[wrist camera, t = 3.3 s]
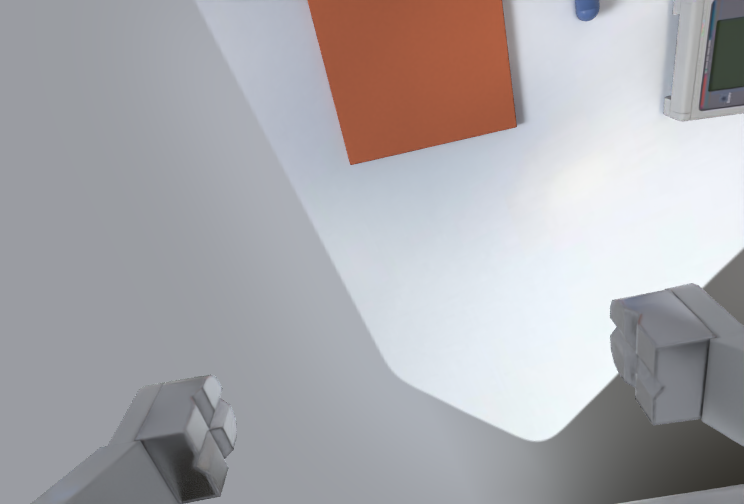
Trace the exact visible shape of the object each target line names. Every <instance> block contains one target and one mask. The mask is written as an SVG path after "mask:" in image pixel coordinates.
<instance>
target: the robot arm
mask: <svg viewBox="0 0 744 504" xmlns="http://www.w3.org/2000/svg"><path fill="white" fill-rule="evenodd" d="M610 318H611V319H612V321H613V322H614V324H615V325H616V326H617V327H616V329H615V330H614V331H613V333H612V334H611V335H610V341H611V352H612V356H613V360H614V364H615V366H616V368H617V370H618V372H619V374H620V376H621V377H622V379H623V381H624V382H625V383H627V384H629V385H631V386H633V387H635V388H636V390H635V399H636V401H637V402H638V404H639V405H640V407H641V408H642V410H643V411H644V413H645V414H646V416H647V417H648V419H649V420H650V422H651V423H652V425H658V424H666V423H673V422H680V421H687V420H695V419H702V421H703V422H704V423H706V424H708V425H709V426H711V427H712V428H714V429H716V430H718V431H719V432H721V433H722V434H724V435H726V436H727V437H729V438H730V439H732V440H734V441H735V442H737V443H739V444H740V445H742V446H744V326H743V325H742V324H741V323H740V322H739V321H738V320H737V319H735V318H734V317H733V316H732V315H731V314H730V313H729V312H728V311H727V310H725V309H724V308H723V307H722V306H721V305H720V304H719V303H718V302H716V301H715V300H714V299H713V298H712V297H711V296H710V295H709V294H707V293H706V292H705V291H704V290H703V289H702V288H701V287H700V286H698V285H696V284H693V283H691V284H686V285H682V286H677V287H672V288H667V289H665V290H662V291H657V292H652V293H646V294H641V295H636V296H631V297H625V298H620V299H615V300H612V302H611V306H610ZM221 392H222V387H221V385H220V383H219V381H218V379H217V377H215V376H213V375H206V376H200V377H194V378H187V379H181V380H175V381H169V382H166V383H158V384H153V385H147V386H144V387H142V388H141V389H139V391H138V393H137V394H136V396H135V398H134V399H133V401H132V403H131V405H130V407H129V409H128V410H127V412H126V414H125V416H124V417H123V419H122V421H121V423H120V425H119V426H118V428H117V430H116V432H115V434H114V435H113V437H112V439H111V441H110V442H109V444H108V446H105V447H100V448H99V449H98V450H97V451H95V452H94V453H93V454H92V455H90V456H89V457H88V458H87V459H85V460H84V461H83V462H82V463H80V464H79V465H78V466H77V467H76V468H74V469H73V470H72V471H71V472H69V473H68V474H67V475H66V476H65V477H63V478H62V479H61V480H59V481H58V482H57V483H56V484H55V485H54V486H52V487H51V488H50V489H49V490H47V491H46V492H45V493H44V494H42V495H41V496H40V497H39V498H37V499H36V500H35V501H34V502H32V503H31V504H183V503H189V502H194V501H199V500H204V499H210V498H215V497H220V496H221V492H222V489H223V485H224V482H225V478H226V475H227V471H228V466H227V464H226V462H225V460H224V459H225V458H226V457H227V456H228V455H229V454H230V453H231V452H232V451H233V450H234V446H235V442H236V420H235V416H234V412H233V410H232V408H231V406H230V404H228V403H227V402H225V401H224V400H222V399H220V395H221ZM619 504H744V484H743V485H736V486H730V487H723V488H716V489H710V490H704V491H698V492H690V493H684V494H677V495H671V496H664V497H658V498H651V499H645V500H638V501H632V502H625V503H619Z"/></svg>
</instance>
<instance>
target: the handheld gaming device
mask: <svg viewBox="0 0 744 504" xmlns="http://www.w3.org/2000/svg"><path fill="white" fill-rule="evenodd" d="M673 14H674V15H679V23H678V33H677V43H676V53H675V63H674V73H673V83H672V92H671V96H667V97H665V99H664V110H663V113H664V114H665V115H666V116H669V117H671V118H673V119H676V120H679V121H688V120H697V119H704V118H712V117H719V116H727V115H734V114H741V113H744V0H674V6H673Z"/></svg>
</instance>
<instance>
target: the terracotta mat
mask: <svg viewBox="0 0 744 504" xmlns="http://www.w3.org/2000/svg"><path fill="white" fill-rule="evenodd" d="M308 4H309V8H310V12H311V16H312V19H313V23H314V27H315V31H316V35H317V39H318V42H319V46H320V50H321V54H322V58H323V62H324V65H325V69H326V73H327V77H328V81H329V85H330V88H331V92H332V96H333V100H334V104H335V108H336V111H337V115H338V119H339V123H340V127H341V131H342V135H343V138H344V142H345V146H346V150H347V154H348V158H349V161H350V165H353V164H358V163H362V162H366V161H371V160H375V159H380V158H384V157H388V156H393V155H397V154H401V153H406V152H410V151H414V150H419V149H423V148H427V147H432V146H436V145H441V144H445V143H449V142H454V141H458V140H462V139H467V138H471V137H475V136H480V135H484V134H488V133H493V132H497V131H502V130H506V129H510V128H515V127H517V124H516V115H515V107H514V98H513V90H512V81H511V73H510V64H509V56H508V47H507V39H506V30H505V22H504V13H503V5H502V0H308Z"/></svg>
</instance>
